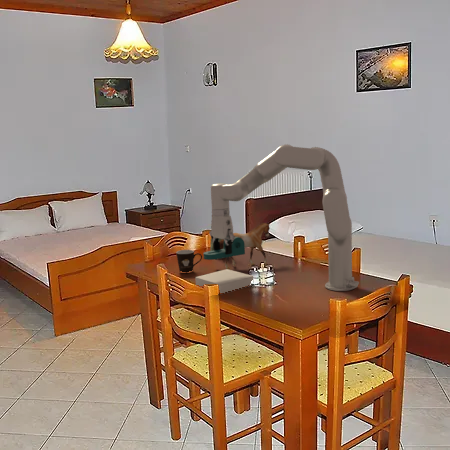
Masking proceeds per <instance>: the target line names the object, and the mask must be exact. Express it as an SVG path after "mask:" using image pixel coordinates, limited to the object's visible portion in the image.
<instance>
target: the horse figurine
mask: <svg viewBox="0 0 450 450" xmlns="http://www.w3.org/2000/svg"><path fill="white" fill-rule="evenodd" d="M270 225H271V223H270V222H262V223H258V224H257V225H256V226H255V227H253V228H251V230H250V231H248V232H247V233H238V232H233V234H234V236H236V237H239V238H242V239H243V241H244V244H245V248H250V251H249V262H250V266H255V263H254V261H253V260H252V258H253V255H254V248H256V249H257V250H258V251H259V252H260V253H261V254H262V255H263V257H264V261H263V263H264V265H266V266H267V265H268V263H267V260H268V259H267V256H266V252H265V251H264V248H263V246H262V245H263V240H262V235H263V233H264V234H265V237H266V238H267V237H269V236H270V229H271V228H270ZM223 244H224V239H222V240H221V241H220V249H223V248H224V247H223ZM229 258H230V259H231V262H232V266H233V267H236V261H235V259H234V256H232V257H226V258H225V264H224V266H225V270H226V269H229V270H231V269H230V267H229V266H228V263H229ZM214 260H216V261H217V260H218V259H214Z"/></svg>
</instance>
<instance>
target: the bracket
mask: <svg viewBox="0 0 450 450" xmlns="http://www.w3.org/2000/svg"><path fill="white" fill-rule="evenodd" d="M227 241H229V240H227ZM225 245H226V243H225V241H224V249H219V250H213V251H210V250H209V251H204V252H203V259H204V260H206V261H211V260H215V259H217V260H219V259H224V258H225V259H226V257H229V258H230V257H236V256H242V255H243V256H244V255H245V254H246V252H245V251H246V250H245V249H246V247H245V244H244V241H243V239H242V238H239V237H236V236H235V239H234V242H233V244H232V254H227V255H226V254H225Z"/></svg>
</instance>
